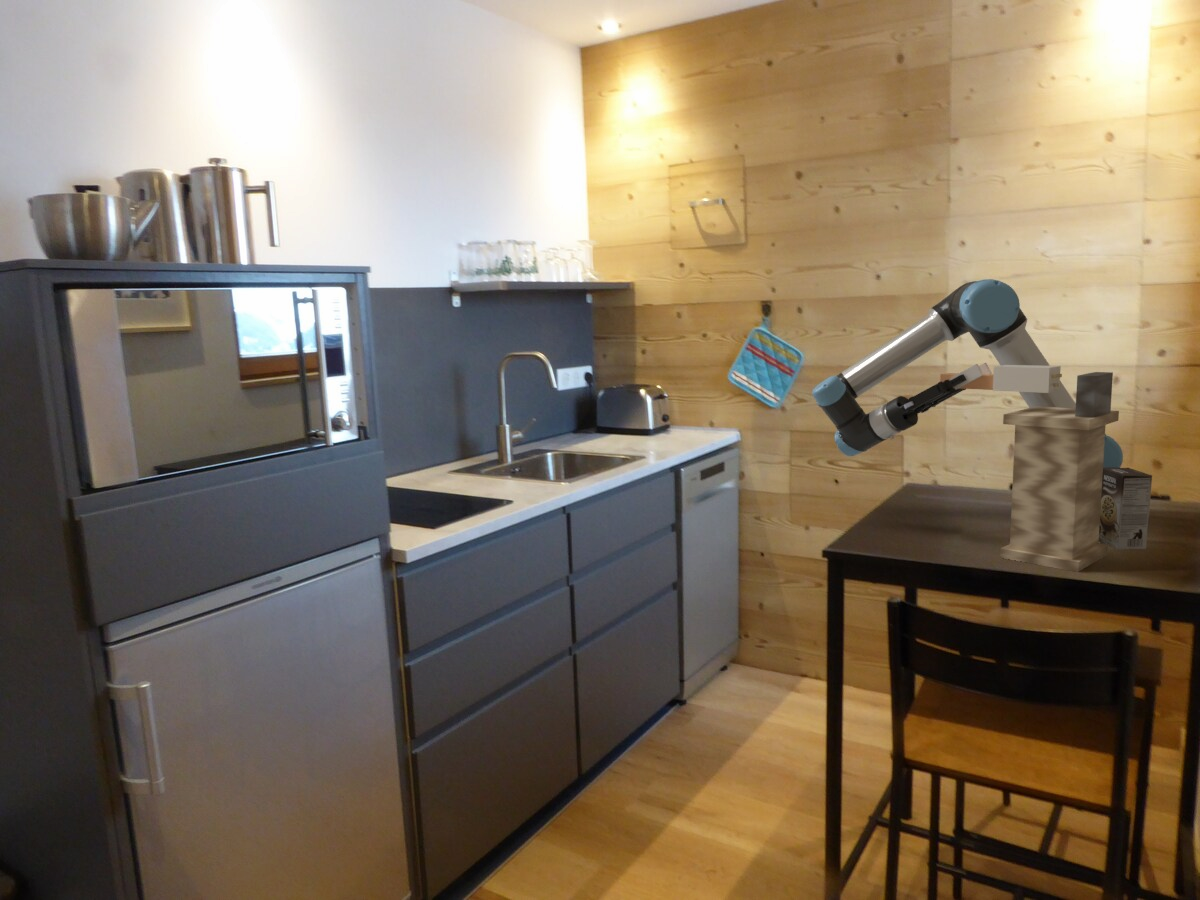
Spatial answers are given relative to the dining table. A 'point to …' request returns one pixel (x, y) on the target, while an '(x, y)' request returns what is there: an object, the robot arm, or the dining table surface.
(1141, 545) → the coffee box
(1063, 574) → the dining table surface
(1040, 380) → the plug
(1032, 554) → the stand
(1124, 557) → the dining table surface
